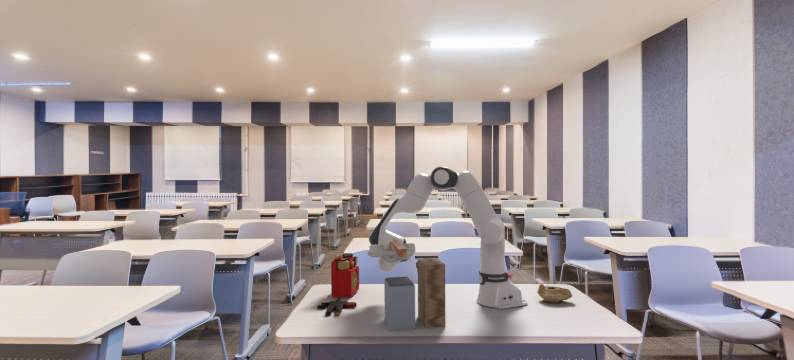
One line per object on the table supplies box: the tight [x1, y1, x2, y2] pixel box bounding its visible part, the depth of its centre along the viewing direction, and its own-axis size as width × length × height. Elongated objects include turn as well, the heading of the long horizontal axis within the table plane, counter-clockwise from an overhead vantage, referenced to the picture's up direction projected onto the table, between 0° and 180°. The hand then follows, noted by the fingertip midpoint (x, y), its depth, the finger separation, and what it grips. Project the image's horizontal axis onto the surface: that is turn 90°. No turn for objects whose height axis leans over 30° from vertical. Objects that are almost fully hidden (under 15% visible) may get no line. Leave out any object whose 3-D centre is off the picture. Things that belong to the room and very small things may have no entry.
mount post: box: [417, 257, 447, 329], centre depth 149 cm, size 8×12×24 cm, turn 10°
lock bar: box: [390, 240, 407, 257], centre depth 150 cm, size 3×22×3 cm, turn 11°
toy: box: [316, 297, 357, 317], centre depth 164 cm, size 15×16×3 cm
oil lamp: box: [536, 283, 573, 304], centre depth 173 cm, size 11×15×8 cm
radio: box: [330, 253, 360, 299], centre depth 187 cm, size 16×10×20 cm, turn 168°
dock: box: [383, 276, 416, 332], centre depth 147 cm, size 10×12×17 cm
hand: (394, 243), depth 157 cm, fingers closed on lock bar, 3 cm apart
